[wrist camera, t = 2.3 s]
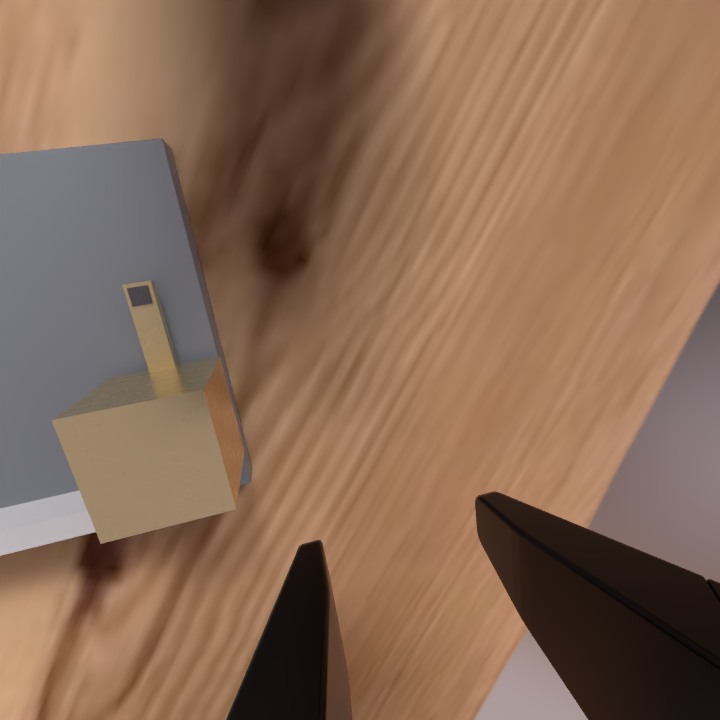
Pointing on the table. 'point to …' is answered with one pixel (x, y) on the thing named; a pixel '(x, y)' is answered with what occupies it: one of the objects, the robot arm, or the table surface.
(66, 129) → the table surface
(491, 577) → the table surface
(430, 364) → the table surface
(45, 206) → the hole plate
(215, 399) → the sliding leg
